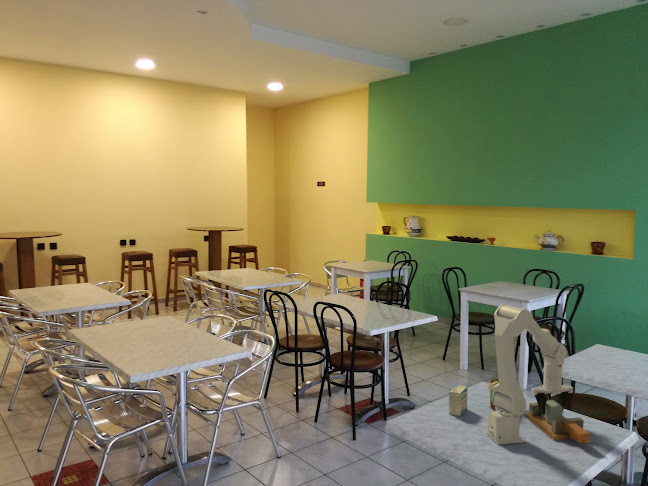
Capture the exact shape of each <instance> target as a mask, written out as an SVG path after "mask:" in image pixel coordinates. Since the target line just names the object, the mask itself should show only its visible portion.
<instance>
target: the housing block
mask: <svg viewBox="0 0 648 486" xmlns="http://www.w3.org/2000/svg"><path fill="white" fill-rule="evenodd" d="M556 402H557V401H555V400H554V399H548V400H547V402H546V408H545V415H542V414H541V417H542V418H543V419H545V420H546V421H547V422H549V423H550V424H552V419H562V416H563V413H562V411H563V412H564V410H563V407H562V406H561V405H559V404H558V403H556Z"/></svg>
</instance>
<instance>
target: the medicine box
mask: <svg viewBox="0 0 648 486" xmlns="http://www.w3.org/2000/svg"><path fill="white" fill-rule="evenodd" d="M467 409H468V386H464V385H459V384H457V385H455V386H454V387H453V388H451V390H449V391H448V414H449V415H451V416H452V415H453V416H456V417H461V416H462V415H463V414H464V413H465V412H466V410H467Z"/></svg>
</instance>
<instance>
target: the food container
mask: <svg viewBox="0 0 648 486" xmlns="http://www.w3.org/2000/svg"><path fill="white" fill-rule="evenodd" d="M498 383H499V379H498V377H492V378H491V379H489V381H488V383H487V388H488V389H489V403H490V406H489V407H490V409H491V410H492V411H493V412H495V411H496V409H495V405H493V403H492V395H493V387H494V386H495V385H496V384H498Z"/></svg>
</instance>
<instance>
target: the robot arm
mask: <svg viewBox="0 0 648 486" xmlns="http://www.w3.org/2000/svg"><path fill="white" fill-rule="evenodd" d="M533 316H534V315H533V313H531V311H530V310H529V309H527V308H521V307H516V306H512V305H508V304H506V303H502V304H500V305H499V306H498V307H497V309H496V310H495V312H494V314H493V317H494V327H495V328H494V342H495V343H494V344H495V345H494V346H495V353H496V356H495V358H496V364H497V365H496V369H497V375H498V376H497V378H498V379H499V383H498V384H496V385H495V386H494V387H493V395H492V403H493V405H495V409H496V411H493V412H490V413H488V419H487V420H488V421H487V432H486V434H487V435H488V437H490V439H492V440H493V441H494V443H496V445H507V444H508V445H509V444H520V443H525V442H526V441H525V440H524V439H523V438H522V437H521V436H520V431H521V430H520V428H521V427H520V426H521V425H520V422H521V416H522V415H523V414H525V411H526V409H527V401H526V398H525V397H524V391H523V390H522V389H521V387H520V386H519V385H518V384H517V382H518V381H517V372H516V361H515V347H514V338H517V337H519V336H520V335H521V333H523V332H524V331H525V330H526V331H527V332H529V334H530V335H532V341H533V342H534V344H535V345H537V346H538V348H540V353H541V355H544V359H543V361H544V362H543V363H544V364H543V384H542V385H539V386H536V387H531V388H530V393H531V394H532V396H533V395H534V397H535V401H536V403H538V406H539V411H540V413H541V414H542V415H545V408H546V402H547V399H548V400H549V397H548V398H547V397H545V395H544V394H548V395H549V394H555V395H556V402H557V403H558V404H559V405H561V406H562V407H563V411H562V414H563V413H564V410H565V407H566V406H567V403H568V402H569V400H570V399H571V394H573V393H574V387H573V386H571V385H563V384H562V382H563V381H562V379H563V378H562V375H563V365H564V363H565V358H566V357H567V354H568V350H567V347H566V346H565V344H564V343H561V342H559V341H558V340H557V338H556V337H554V336H553V335H552V334H551V331H550V330H549V329H547V328H541V327H540V325H539V324H538V323H537V322H536V320H535V319H534V317H533Z"/></svg>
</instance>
